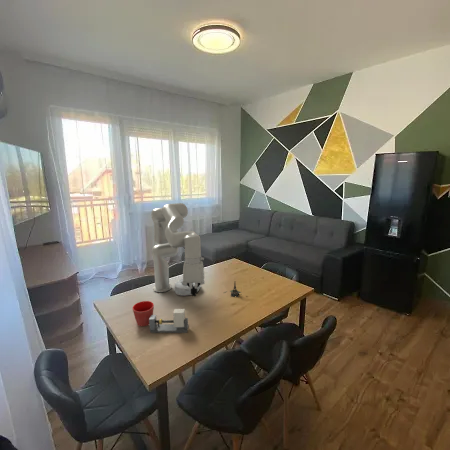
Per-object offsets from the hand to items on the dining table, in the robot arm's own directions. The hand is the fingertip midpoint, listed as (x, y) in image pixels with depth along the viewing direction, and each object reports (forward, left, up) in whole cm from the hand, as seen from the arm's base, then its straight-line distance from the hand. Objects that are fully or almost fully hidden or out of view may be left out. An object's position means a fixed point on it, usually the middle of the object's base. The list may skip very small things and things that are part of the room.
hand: (194, 295), depth 122 cm
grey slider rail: (0, -13, -20) cm, 23 cm away
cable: (-43, -10, -20) cm, 49 cm away
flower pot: (-6, -28, -20) cm, 35 cm away
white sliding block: (0, -8, -17) cm, 19 cm away
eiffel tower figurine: (-37, +23, -20) cm, 48 cm away
